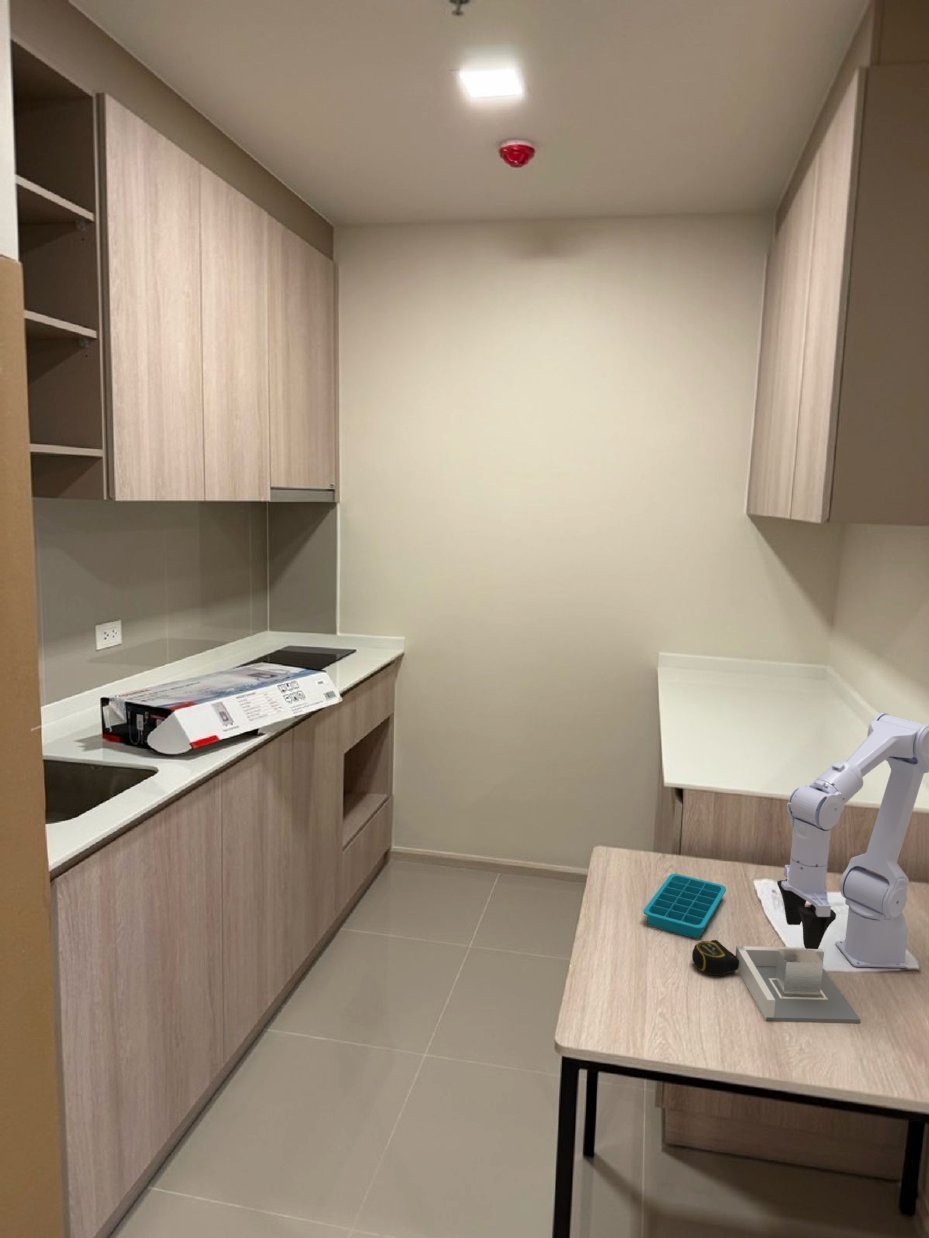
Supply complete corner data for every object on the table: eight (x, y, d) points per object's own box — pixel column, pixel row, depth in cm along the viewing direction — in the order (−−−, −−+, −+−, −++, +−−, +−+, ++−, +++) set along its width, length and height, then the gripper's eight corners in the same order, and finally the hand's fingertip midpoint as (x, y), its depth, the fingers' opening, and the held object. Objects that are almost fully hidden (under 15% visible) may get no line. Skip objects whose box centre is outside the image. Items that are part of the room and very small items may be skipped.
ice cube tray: (640, 926, 166) (641, 912, 166) (670, 885, 184) (671, 872, 183) (701, 944, 161) (702, 929, 160) (726, 899, 178) (727, 886, 178)
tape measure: (740, 976, 150) (741, 956, 150) (705, 982, 148) (707, 961, 148) (717, 955, 157) (719, 936, 156) (684, 960, 155) (685, 941, 154)
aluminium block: (775, 981, 148) (778, 948, 147) (810, 982, 147) (813, 949, 147) (783, 995, 144) (786, 961, 143) (819, 996, 144) (823, 962, 143)
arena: (819, 966, 154) (821, 947, 153) (860, 1022, 138) (862, 1001, 137) (734, 964, 153) (736, 945, 153) (765, 1020, 138) (767, 999, 137)
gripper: (769, 840, 151) (763, 913, 153) (802, 878, 136) (794, 958, 139) (809, 841, 151) (803, 914, 153) (846, 879, 136) (838, 959, 139)
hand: (802, 935), depth 146 cm, fingers open, 7 cm apart
